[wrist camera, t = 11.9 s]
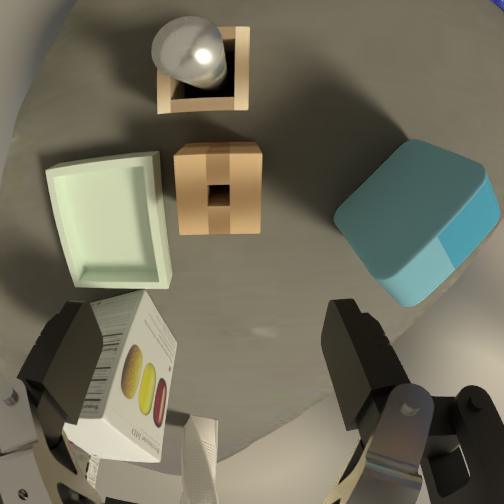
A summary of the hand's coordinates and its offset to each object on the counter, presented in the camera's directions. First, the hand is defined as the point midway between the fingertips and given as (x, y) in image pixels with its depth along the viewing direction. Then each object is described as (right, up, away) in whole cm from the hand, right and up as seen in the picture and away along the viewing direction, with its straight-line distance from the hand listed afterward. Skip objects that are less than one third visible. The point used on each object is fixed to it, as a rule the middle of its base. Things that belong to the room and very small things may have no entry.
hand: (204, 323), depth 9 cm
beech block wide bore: (-2, +17, +12) cm, 21 cm away
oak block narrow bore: (-1, +9, +16) cm, 19 cm away
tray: (-12, +6, +18) cm, 22 cm away
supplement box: (-13, -7, +25) cm, 29 cm away
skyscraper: (-8, -29, +38) cm, 48 cm away
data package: (+15, +9, +18) cm, 25 cm away
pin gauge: (-2, +17, +12) cm, 21 cm away
